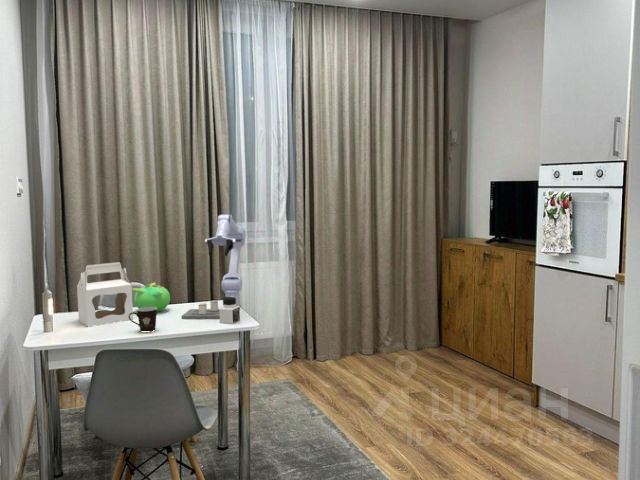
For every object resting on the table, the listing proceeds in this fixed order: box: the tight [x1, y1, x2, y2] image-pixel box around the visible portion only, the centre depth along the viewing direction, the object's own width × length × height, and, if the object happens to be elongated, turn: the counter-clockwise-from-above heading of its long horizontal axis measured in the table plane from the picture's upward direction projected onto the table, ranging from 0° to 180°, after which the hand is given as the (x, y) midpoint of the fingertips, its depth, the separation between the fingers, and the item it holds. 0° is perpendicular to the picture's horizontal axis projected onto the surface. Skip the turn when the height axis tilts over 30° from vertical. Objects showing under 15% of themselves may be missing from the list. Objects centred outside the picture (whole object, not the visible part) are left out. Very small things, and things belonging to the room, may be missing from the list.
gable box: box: [76, 261, 134, 327], centre depth 281 cm, size 22×13×28 cm, turn 129°
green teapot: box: [132, 282, 171, 312], centre depth 299 cm, size 18×17×15 cm
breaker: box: [209, 300, 219, 311], centre depth 293 cm, size 3×3×5 cm
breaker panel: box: [181, 308, 220, 320], centre depth 290 cm, size 15×19×2 cm
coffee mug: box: [129, 307, 158, 332], centre depth 262 cm, size 12×9×10 cm
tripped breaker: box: [198, 303, 207, 314], centre depth 286 cm, size 3×3×5 cm
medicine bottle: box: [219, 296, 241, 325], centre depth 276 cm, size 7×7×12 cm
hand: (217, 254), depth 274 cm, fingers open, 7 cm apart
